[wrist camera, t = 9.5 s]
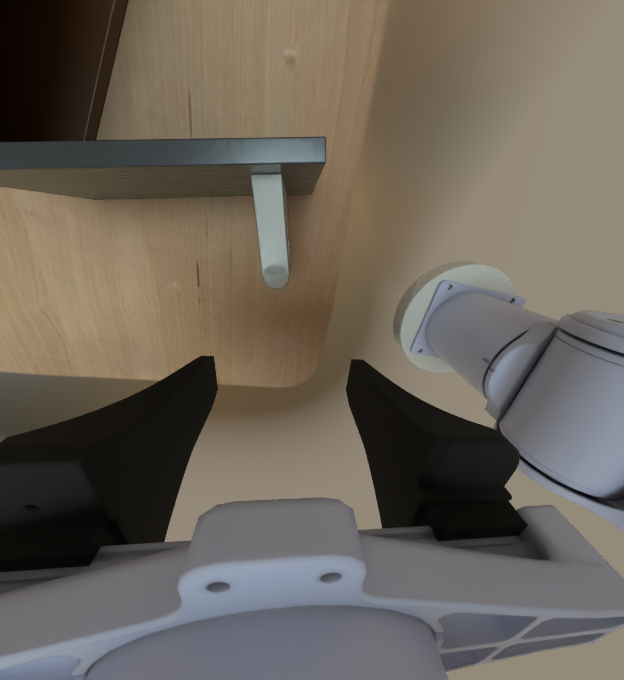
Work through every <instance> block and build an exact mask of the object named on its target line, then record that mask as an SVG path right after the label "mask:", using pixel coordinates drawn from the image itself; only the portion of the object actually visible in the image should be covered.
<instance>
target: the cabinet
mask: <svg viewBox="0 0 624 680" xmlns="http://www.w3.org/2000/svg"><path fill="white" fill-rule="evenodd" d="M126 4H127V0H0V142H25V141H88V140H95V137H96V133H97V129H98V124H99V120H100V116H101V112H102V107H103V103H104V99H105V94H106V90H107V86H108V82H109V77H110V73H111V69H112V64H113V60H114V56H115V52H116V47H117V43H118V39H119V34H120V30H121V26H122V22H123V17H124V13H125V9H126Z"/></svg>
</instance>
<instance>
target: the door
mask: <svg viewBox="0 0 624 680" xmlns="http://www.w3.org/2000/svg"><path fill="white" fill-rule="evenodd" d="M325 163H326V137H276V138H213V139H150V140H88V141H25V142H0V187H7V188H14V189H22V190H29V191H36V192H43V193H51V194H58V195H65V196H72V197H80V198H87V199H94V200H104V199H142V198H181V197H219V196H253V200H254V208H255V216H256V225H257V233H258V241H259V250H260V258H261V266H262V275H263V280H264V282H265V284H266V285H267V286H268V287H270V288H272V289H281V288H283V287H285V286H286V285H287V283H288V281H289V275H290V269H291V253H290V238H289V222H288V207H287V195H296V194H312V192H313V190H314V188H315V185H316V183H317V181H318V179H319V176H320V174H321V172H322V170H323V167H324V165H325Z"/></svg>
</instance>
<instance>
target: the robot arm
mask: <svg viewBox="0 0 624 680" xmlns="http://www.w3.org/2000/svg"><path fill="white" fill-rule="evenodd" d="M448 285H450V287H449V288H448V289H447V286H448ZM511 299H512V300H511ZM510 300H511V301H510ZM524 304H525V299H524V298H522V297H518V296H514V295H509V294H505V293H500V292H496V291H491V290H487V289H483V288H478V287H474V286H469V285H465V284H460V283H456V282H451V281H447V280H442V281H441V282H439V284H438V286H437V288H436V290H435V293H434V295H433V297H432V300H431V302H430V304H429V306H428V309H427V311H426V313H425V315H424V318H423V320H422V322H421V324H420V327H419V329H418V331H417V333H416V336H415V338H414V340H413V342H412V345H411V347H410V351H411V352H412V353H413V354H418V355H424V356H430V357H436V358H442V359H443V360H444V361H445V362H446V363H447V364H448V365H449V366H451V367H452V368H453V369H454V370H455V371H456V372H457V373H458V374H459V375H460V376H462V377H463V378H464V379H465V380H466V381H467V382H468V383H469V384H470V385H472V386H473V387H474V388H475V389H476V390H477V391H478V392H479V393H480V394H481V395H483V396H484V397H485V398H486V399H487V405H486V408H485V410H486V411H487V412H488V413H489V414H490V415H491V416H492V417H493V418H494V419H495V420H496V421H497V422H496V423H495V425H494V427H493V429H492V428H489V427H486V426H483V425H480V424H477V423H474V422H471V421H468V420H465V419H463V418H460V417H457V416H455V415H452V414H450V413H448V412H445V411H443V410H441V409H439V408H437V407H434V406H432V405H430V404H428V403H426V402H424V401H422V400H421V399H419V398H417V397H415V396H413V395H412V394H410V393H408V392H407V391H405V390H403V389H402V388H400V387H399V386H397V385H396V384H394V383H393V382H392V381H390V380H389V379H388V378H386V377H384V376H383V375H382V374H381V373H379V372H378V371H377V370H376V369H374V368H373V367H371V365H369V364H368V363H367V362H365V361H364V360H353V359H352V360H351V365H350V371H349V376H348V382H347V387H346V392H347V397H348V402H349V406H350V409H351V411H352V414H353V417H354V420H355V423H356V425H357V428H358V431H359V434H360V436H361V439H362V442H363V445H364V448H365V451H366V455H367V459H368V463H369V467H370V471H371V476H372V480H373V484H374V489H375V494H376V499H377V503H378V508H379V513H380V518H381V524H382V529H369V530H358V529H357V525H356V520H355V516H354V511H353V509H352V508H350V507H349V506H348V505H346V504H344V503H343V502H341V501H340V500H338V499H330V498H302V499H301V498H300V499H278V500H256V501H235V502H229V503H225V504H220V505H216V506H214V507H213V508H211V509H210V510H208V511H207V512H205V513H204V514H202V515H201V516H200V517H199V518H198V521H197V524H196V527H195V530H194V533H193V537H192V540H191V541H177V542H164V541H165V537H166V533H167V529H168V525H169V522H170V519H171V515H172V512H173V509H174V505H175V502H176V498H177V495H178V492H179V489H180V486H181V482H182V479H183V476H184V473H185V470H186V467H187V464H188V461H189V458H190V456H191V453H192V450H193V448H194V446H195V443H196V441H197V439H198V437H199V434H200V432H201V430H202V428H203V426H204V424H205V422H206V420H207V417H208V415H209V413H210V411H211V409H212V406H213V403H214V400H215V397H216V393H217V390H218V387H217V378H216V370H215V362H214V356H200V357H198V358H197V359H195V360H193V361H192V362H190V363H189V364H187V365H185V366H184V367H182V368H181V369H179V370H177V371H176V372H174V373H173V374H171V375H169V376H168V377H166V378H164V379H162V380H161V381H159V382H157V383H155V384H154V385H152V386H150V387H148V388H146V389H144V390H142V391H140V392H138V393H136V394H134V395H132V396H130V397H128V398H126V399H123V400H121V401H119V402H116V403H113V404H111V405H108V406H106V407H104V408H101V409H99V410H96V411H93V412H91V413H87V414H85V415H82V416H79V417H76V418H73V419H70V420H67V421H64V422H60V423H57V424H54V425H51V426H47V427H43V428H40V429H36V430H33V431H29V432H25V433H22V434H18V435H15V436H10V437H7V438H6V439H5V440H3V441H2V442H1V443H0V680H448V677H447V674H446V672H449V671H453V670H458V669H462V668H467V667H471V666H476V665H481V664H485V663H489V662H494V661H498V660H503V659H508V658H513V657H517V656H522V655H527V654H532V653H537V652H542V651H548V650H553V649H559V648H565V647H571V646H578V645H584V644H591V643H594V642H596V641H598V640H600V639H602V638H603V637H605V636H607V635H609V634H611V633H613V632H614V631H616V630H618V629H620V628H622V627H624V579H623V578H622V577H621V576H620V575H619V574H618V573H617V571H615V569H614V568H613V567H612V566H611V565H610V564H609V563H608V562H607V561H606V560H605V559H604V558H603V557H602V556H601V555H600V554H599V553H598V551H597V550H596V549H595V548H594V547H593V546H592V545H591V544H590V543H589V542H588V541H587V540H586V539H585V538H584V537H583V536H582V535H581V534H580V533H579V531H578V530H577V529H576V528H575V527H574V526H573V525H572V524H571V523H570V522H569V521H568V520H567V519H566V518H565V517H564V516H563V515H562V514H561V512H560V511H559V510H558V509H557V508H556V507H555V506H552V505H541V506H526V507H522V508H520V509H517V510H515V508H514V507H513V506H512V505H511V504H510V502H509V501H508V500H511V499H512V496H511V494H510V493H509V492H508V491H507V489H506V488H505V487H504V486H505V484H506V483H507V482H508V480H509V479H510V477H511V476H512V474H513V473H514V471H515V470H516V468H518V469H519V470H520V471H521V472H523V474H525V475H526V476H527V477H529V478H530V479H531V480H533V481H534V482H536V483H537V484H539V485H540V486H542V487H544V488H545V489H547V490H549V491H551V492H553V493H554V494H557V495H559V496H561V497H564V498H566V499H568V500H570V501H573V502H574V503H577V504H578V505H580V506H582V507H584V508H586V509H588V510H590V511H591V512H593V513H595V514H597V515H598V516H600V517H602V518H603V519H605V520H607V521H608V522H610V523H611V524H613V525H614V526H616V527H617V528H619V529H620V530H622V531H623V532H624V315H619V314H613V313H607V312H599V311H591V310H583V311H580V312H577V313H573V314H567V315H564V316H562V317H561V319H560V321H557V320H554V319H552V318H549V317H546V316H543V315H540V314H537V313H535V312H532V311H529V310H526V309H524V308H522V307H523V305H524ZM418 349H420V351H418Z"/></svg>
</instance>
